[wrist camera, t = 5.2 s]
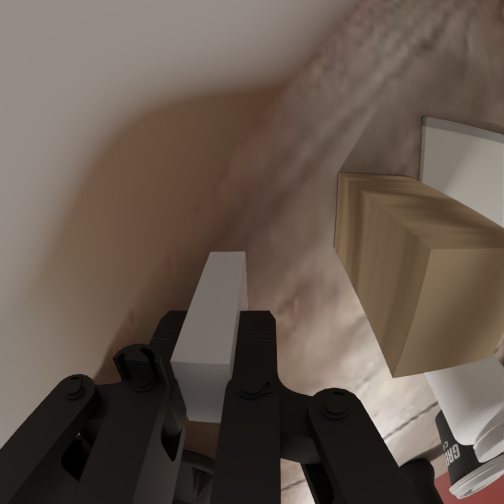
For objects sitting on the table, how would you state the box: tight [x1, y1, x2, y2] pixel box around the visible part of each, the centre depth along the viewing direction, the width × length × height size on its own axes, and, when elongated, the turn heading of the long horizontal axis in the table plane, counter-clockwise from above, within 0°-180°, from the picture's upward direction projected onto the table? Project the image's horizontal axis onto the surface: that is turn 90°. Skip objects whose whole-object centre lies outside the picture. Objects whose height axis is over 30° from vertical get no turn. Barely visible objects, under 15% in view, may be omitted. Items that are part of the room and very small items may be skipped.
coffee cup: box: [435, 410, 504, 499], centre depth 27 cm, size 10×10×15 cm
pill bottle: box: [424, 353, 504, 462], centre depth 22 cm, size 8×8×15 cm
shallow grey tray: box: [419, 116, 504, 228], centre depth 21 cm, size 18×16×1 cm
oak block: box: [334, 172, 504, 378], centre depth 16 cm, size 6×6×14 cm
